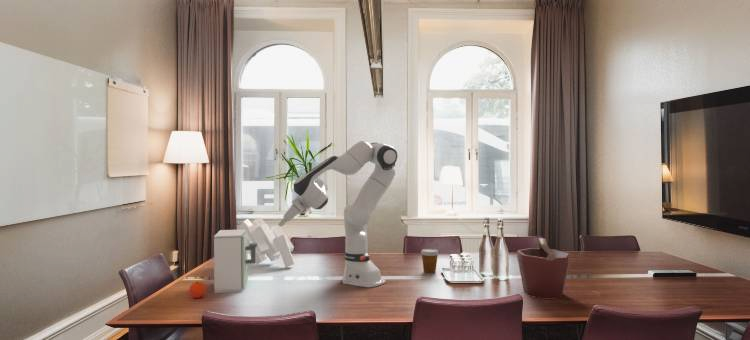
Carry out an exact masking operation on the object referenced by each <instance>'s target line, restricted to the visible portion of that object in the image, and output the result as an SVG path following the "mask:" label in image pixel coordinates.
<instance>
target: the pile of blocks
mask: <svg viewBox="0 0 750 340" xmlns="http://www.w3.org/2000/svg"><path fill="white" fill-rule="evenodd" d="M239 228H240V229H241V230H243V229H245V231H246V230H247V246H249V244H250V243H257V247H256V263H255V264H256V265H259V264H260V263H263V262H264V261H265V260H267V258H268V259H269V260H270V261H271V262H273V261H276V260H278V259H280V256H281V258H282V261H283V265H284V267H285V268H288V267H290V266H293V265H295V260H294V258H293V255H292V252H293V251H294V248H295V246H294V245H293V243H292V241H291V240H290V238H289V237H288V235H287V233H286V232H285V230H284V228H283V226H281V227H280V226H279V225H278V224H277V225H273V226H271V228H270V227H269V225H268V224H267V222H265V221H264V219H263V218H262V217H260V218H256V219H253V222H252V221H251V220H250V219H248V218H247V219H245V220H243V221H242V222H241V223H240V225H239ZM248 253H249V255H250V257H251V250H248Z"/></svg>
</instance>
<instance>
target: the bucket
mask: <svg viewBox="0 0 750 340" xmlns="http://www.w3.org/2000/svg"><path fill="white" fill-rule="evenodd" d="M546 239H547V238H543V237H538V240H537V243H538V244H537V247H536V248H535V247H534V248H533V247H530V248H525V249H519V250H517V252H516V253H517V254H516V257H517V263H518V268H519V273H520V277H521V283H522V288H523V291H525V292H526V293H527V294H528V295H530V296H529V297H532V296H535V297H534V298H537V297H540V298H539V299H541V298H560V299H562V297H563V295H562V294H564V289H565V285H566V281H567V275H568V271H569V270H568V269H569V267H570V261H571V253H570V252H567V251H566V252H565V251H563V250H562V251H561V250H559V249H558V250H557V249H553V248H552V249H551V248H550V247H549V246H548V243H547V240H546ZM526 293H525V294H526ZM527 294H526V295H527ZM528 295H527V296H528ZM561 296H562V297H561Z"/></svg>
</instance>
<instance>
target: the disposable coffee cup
mask: <svg viewBox="0 0 750 340" xmlns="http://www.w3.org/2000/svg"><path fill="white" fill-rule="evenodd" d="M420 254H421V260H422V266H423V267H422V268H423V273H424V274H427V273H433V274H436V270H437V261H438V256H439V252H438V249H436V248H423V249H421V252H420Z"/></svg>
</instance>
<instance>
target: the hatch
mask: <svg viewBox="0 0 750 340" xmlns="http://www.w3.org/2000/svg"><path fill="white" fill-rule="evenodd" d="M256 247H257V243H250V244H249V246H247V230H246V231H245V232H244V234H243V235H242V291H243V290H245V288H246V284H247V282H248V278H249V277H248V276H249V275H248V274H249V273H248V271H249V269H248V268H249V267H248V264H256ZM249 250H251V256H250V259H248V256H249V255H248V253H249Z"/></svg>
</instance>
